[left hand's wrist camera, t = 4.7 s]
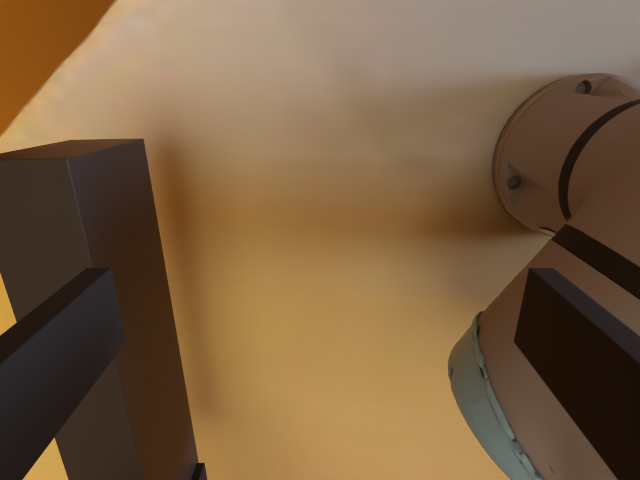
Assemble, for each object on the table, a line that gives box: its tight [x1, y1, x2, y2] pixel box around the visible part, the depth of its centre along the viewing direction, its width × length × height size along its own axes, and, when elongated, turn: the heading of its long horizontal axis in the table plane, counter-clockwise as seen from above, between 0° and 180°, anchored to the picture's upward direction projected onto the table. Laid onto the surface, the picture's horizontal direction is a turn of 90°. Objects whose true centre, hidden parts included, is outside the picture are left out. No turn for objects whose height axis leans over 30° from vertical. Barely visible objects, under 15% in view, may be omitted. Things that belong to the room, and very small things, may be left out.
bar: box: [0, 139, 199, 480], centre depth 31 cm, size 36×5×9 cm, turn 1°
